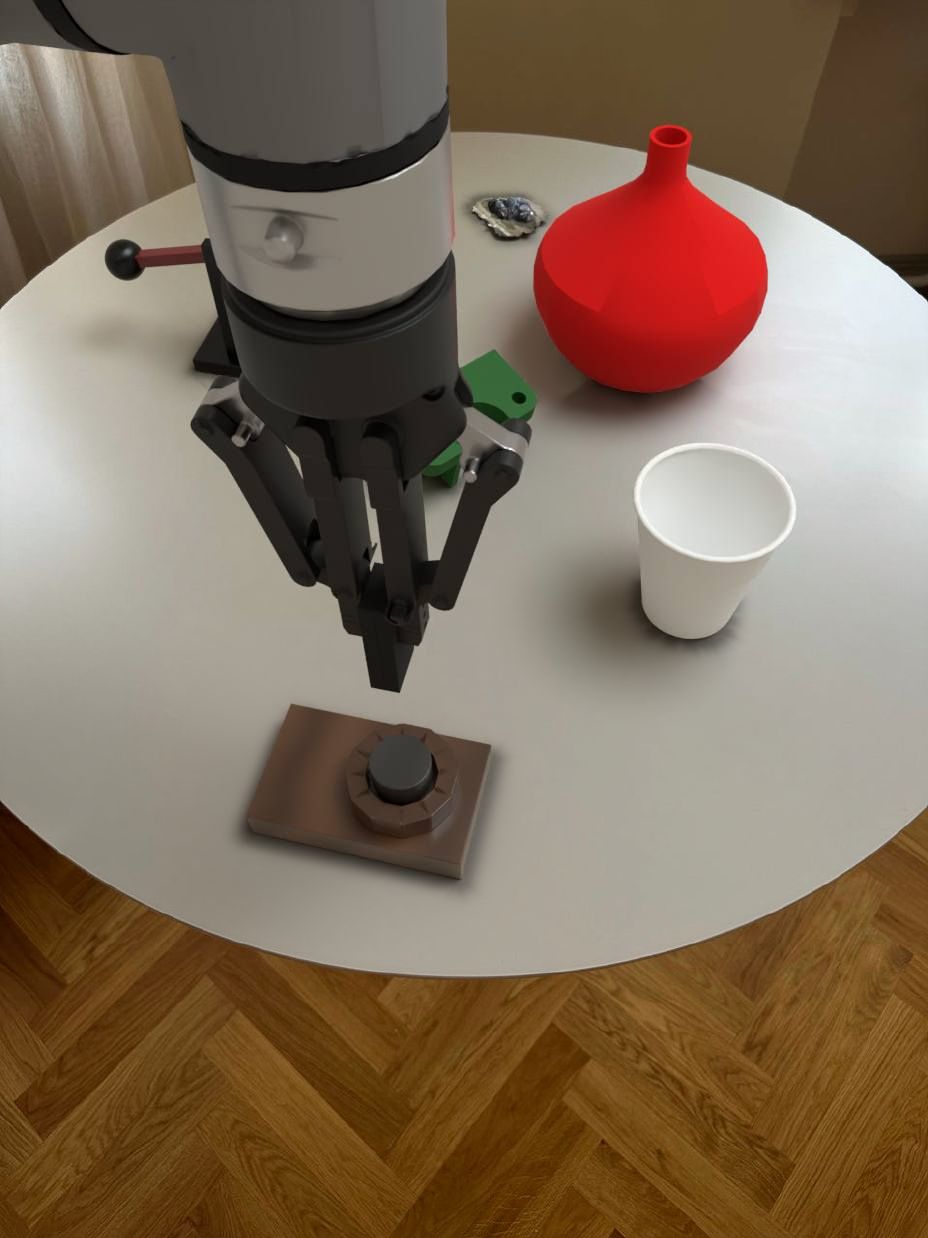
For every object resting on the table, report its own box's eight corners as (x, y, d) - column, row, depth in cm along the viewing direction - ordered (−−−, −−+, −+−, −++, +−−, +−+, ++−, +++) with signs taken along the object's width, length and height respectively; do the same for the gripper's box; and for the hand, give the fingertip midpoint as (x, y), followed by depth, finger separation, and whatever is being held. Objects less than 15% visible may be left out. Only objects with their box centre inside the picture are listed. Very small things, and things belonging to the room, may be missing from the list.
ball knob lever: (110, 289, 85) (90, 255, 83) (126, 266, 87) (107, 232, 85) (260, 279, 81) (244, 242, 78) (274, 255, 82) (259, 218, 80)
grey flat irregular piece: (518, 249, 97) (519, 231, 96) (452, 219, 100) (452, 201, 99) (561, 216, 100) (562, 198, 99) (495, 188, 103) (495, 170, 102)
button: (363, 796, 60) (361, 782, 59) (381, 743, 62) (379, 728, 61) (423, 809, 60) (422, 795, 58) (439, 755, 62) (438, 740, 60)
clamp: (435, 522, 83) (410, 487, 74) (390, 469, 84) (360, 429, 76) (550, 424, 83) (538, 378, 74) (502, 373, 84) (485, 322, 75)
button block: (252, 832, 63) (240, 802, 59) (295, 720, 67) (286, 687, 64) (461, 879, 61) (460, 852, 58) (491, 761, 65) (492, 729, 62)
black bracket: (194, 370, 88) (160, 247, 78) (225, 319, 92) (195, 196, 82) (307, 388, 86) (286, 265, 77) (333, 335, 90) (316, 212, 81)
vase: (758, 431, 82) (822, 213, 67) (527, 425, 83) (538, 208, 68) (735, 288, 93) (785, 72, 78) (531, 284, 94) (541, 69, 79)
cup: (785, 603, 72) (828, 495, 64) (701, 691, 68) (735, 589, 59) (671, 530, 76) (696, 419, 68) (585, 608, 72) (600, 501, 63)
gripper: (94, 299, 32) (243, 706, 51) (514, 358, 30) (504, 758, 49) (189, 166, 36) (293, 587, 55) (561, 210, 34) (535, 631, 53)
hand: (392, 667), depth 52 cm, fingers closed
